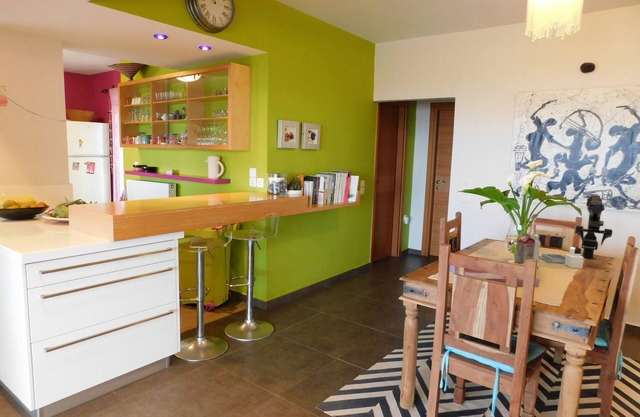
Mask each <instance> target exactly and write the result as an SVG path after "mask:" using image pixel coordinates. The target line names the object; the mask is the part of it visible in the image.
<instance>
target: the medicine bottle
mask: <svg viewBox="0 0 640 417" xmlns="http://www.w3.org/2000/svg"><path fill="white" fill-rule="evenodd" d="M580 255H582V248H581V247H577V246H570V247H569V253H566V254H565V257H566V258H565V264H564V265H565V266H567V267H568V268H571V269H583V264H584V259H585V258H584V257H582V256H580Z"/></svg>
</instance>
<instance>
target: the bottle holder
mask: <svg viewBox="0 0 640 417" xmlns="http://www.w3.org/2000/svg"><path fill="white" fill-rule="evenodd" d="M565 258H566V255H563V254H561V253H560V254H557V253H541V255H539V259H540V260H542V261H544V262H546V263H548V264H563V265H565Z"/></svg>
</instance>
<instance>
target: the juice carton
mask: <svg viewBox="0 0 640 417" xmlns="http://www.w3.org/2000/svg"><path fill="white" fill-rule="evenodd" d="M515 245H516V246H515V255H514V256H515V257H514V263H518V264H524V263H525V260H526V259H533V256H534V247H535V240H534V239H532V235H531V234H528V233H527V232H526V233H525V232H522V233H521V235H520V236H519V237H517V238H516V244H515Z"/></svg>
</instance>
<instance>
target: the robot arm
mask: <svg viewBox="0 0 640 417" xmlns="http://www.w3.org/2000/svg"><path fill="white" fill-rule="evenodd" d="M586 210H587V212H588V220H587V221H588V222H587V228H584V226H583V225H576V226H575V230H574V233H575V234H577V235H578V236H579V237H580V239H581V245H580V246H581V247H580V248H581V249H582V254H581V255H580V256H582V257H584V258H583V259H590V260H591V259H592V260H593V259H594V260H596V257H594V251H596V250H598V248H599V241H598V240H597V235H596V234H600V235H601V234H602V236H601V237H602V239H601V242H600V247H601V246H603V243H604V242H605V241H606V239H608V238H611V237H612V236H613V229H612V228H611V229H610V228H604V230H603V229H602V230H601V227H604V224H605V221H604V220H601V216H602V212H604V211H605V205H604V204H603V199H602V198H601V195H597V194H596V195H595V194H591V195H590V197H588V198H587V199H586ZM584 233H586V234H585V235H584Z"/></svg>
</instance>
